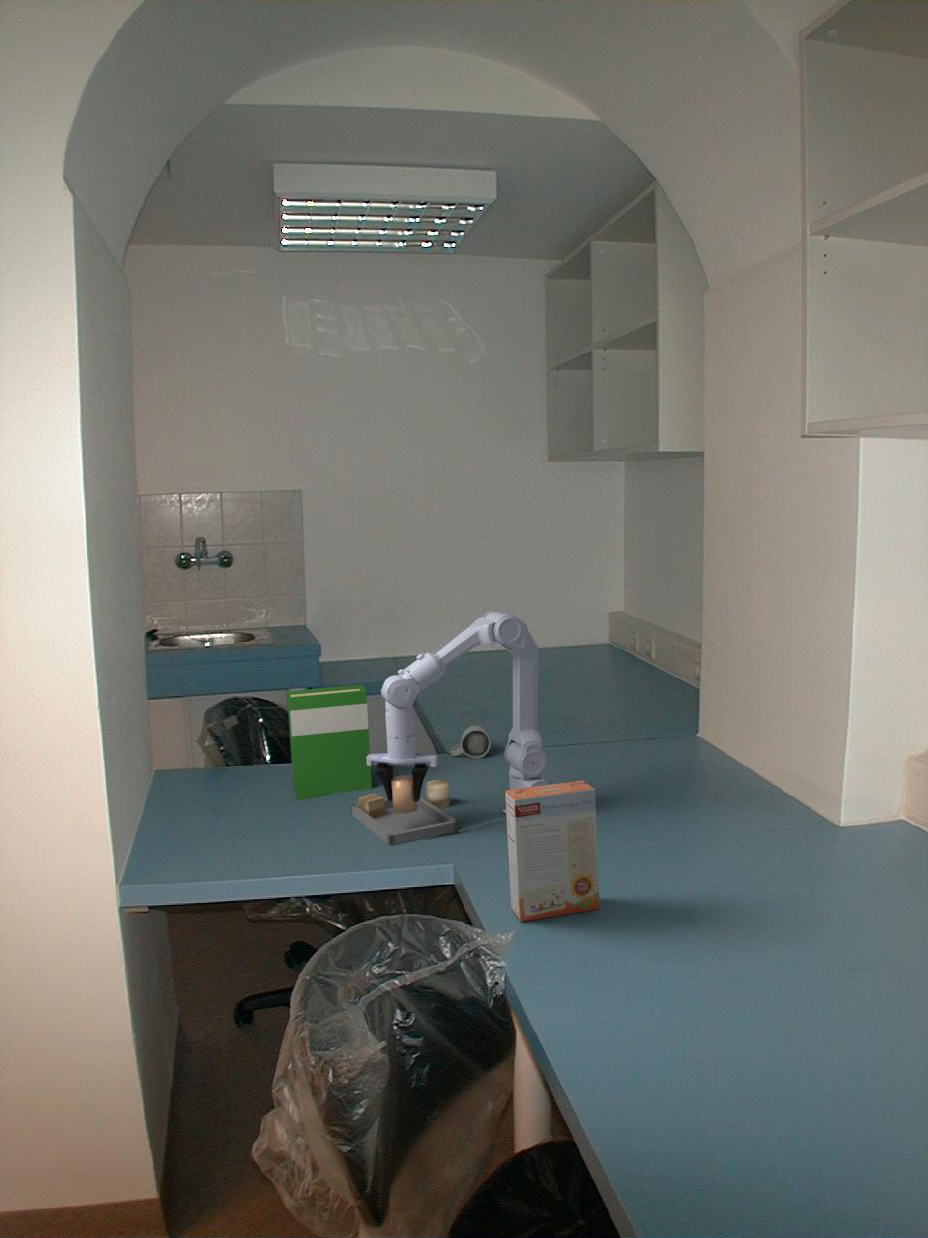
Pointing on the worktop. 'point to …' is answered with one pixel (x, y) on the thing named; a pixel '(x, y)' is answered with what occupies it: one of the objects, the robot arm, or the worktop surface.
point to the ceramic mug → (473, 743)
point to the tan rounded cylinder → (403, 794)
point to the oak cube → (372, 805)
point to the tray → (408, 823)
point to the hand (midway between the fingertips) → (404, 799)
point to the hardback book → (329, 740)
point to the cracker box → (552, 850)
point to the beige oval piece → (438, 793)
